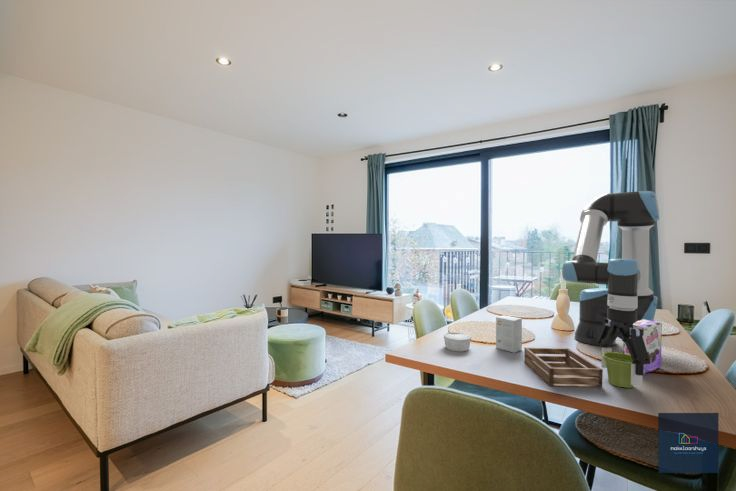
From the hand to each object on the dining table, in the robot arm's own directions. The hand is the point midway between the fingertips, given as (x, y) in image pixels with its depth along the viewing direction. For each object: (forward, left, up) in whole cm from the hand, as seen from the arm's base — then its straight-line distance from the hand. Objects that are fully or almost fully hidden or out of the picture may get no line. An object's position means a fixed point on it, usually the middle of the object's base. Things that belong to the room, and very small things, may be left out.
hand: (620, 375), depth 106 cm
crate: (+15, -7, -3) cm, 17 cm away
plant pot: (0, 0, -3) cm, 3 cm away
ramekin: (+44, -32, -3) cm, 54 cm away
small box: (+23, -32, -3) cm, 40 cm away
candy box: (-16, -13, -3) cm, 21 cm away
